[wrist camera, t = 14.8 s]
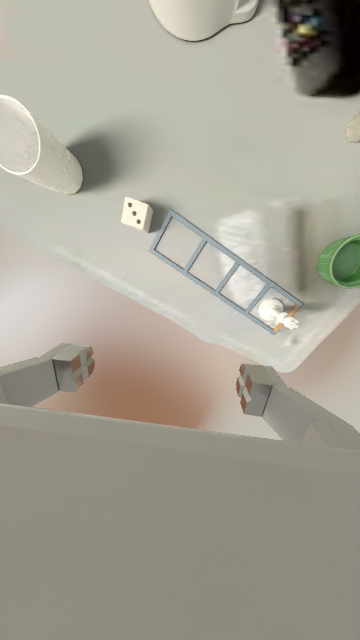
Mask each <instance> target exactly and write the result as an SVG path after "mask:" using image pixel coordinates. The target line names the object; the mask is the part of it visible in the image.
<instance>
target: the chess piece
mask: <svg viewBox="0 0 360 640" xmlns="http://www.w3.org/2000/svg"><path fill="white" fill-rule="evenodd" d="M259 315H260V317H261V318H263V319H265V320H267V321H273V320H276V319H277V321H278V322H279V323H283V324H284V326H285V327H288V328H290V329H291V330H292V329H293V328H294V327H295V328H297V327H298V325H297V324H298V322H299V321H297V320H296V319H295V318H294V317H291V316H289V315H288V313H286V312H283V304H282V303H281V302H280V301H279V300H278V299H275V298H270V299H267V300H265V301H263V302H262V303H261V305H260V307H259Z"/></svg>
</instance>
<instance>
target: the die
mask: <svg viewBox="0 0 360 640" xmlns="http://www.w3.org/2000/svg"><path fill="white" fill-rule="evenodd" d="M152 215H153V210H152V208H151V207H150V206H149V205H148V204H146V203H143V202H140V201H137V200H134V199H131V198H129V197H126V196H125V202H124V208H123V213H122V219H121V223H123V224H125V225H127V226H129V227H132V228H135V229H138V230H141V231H144V232H147V233H149V228H150V224H151V219H152Z"/></svg>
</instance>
